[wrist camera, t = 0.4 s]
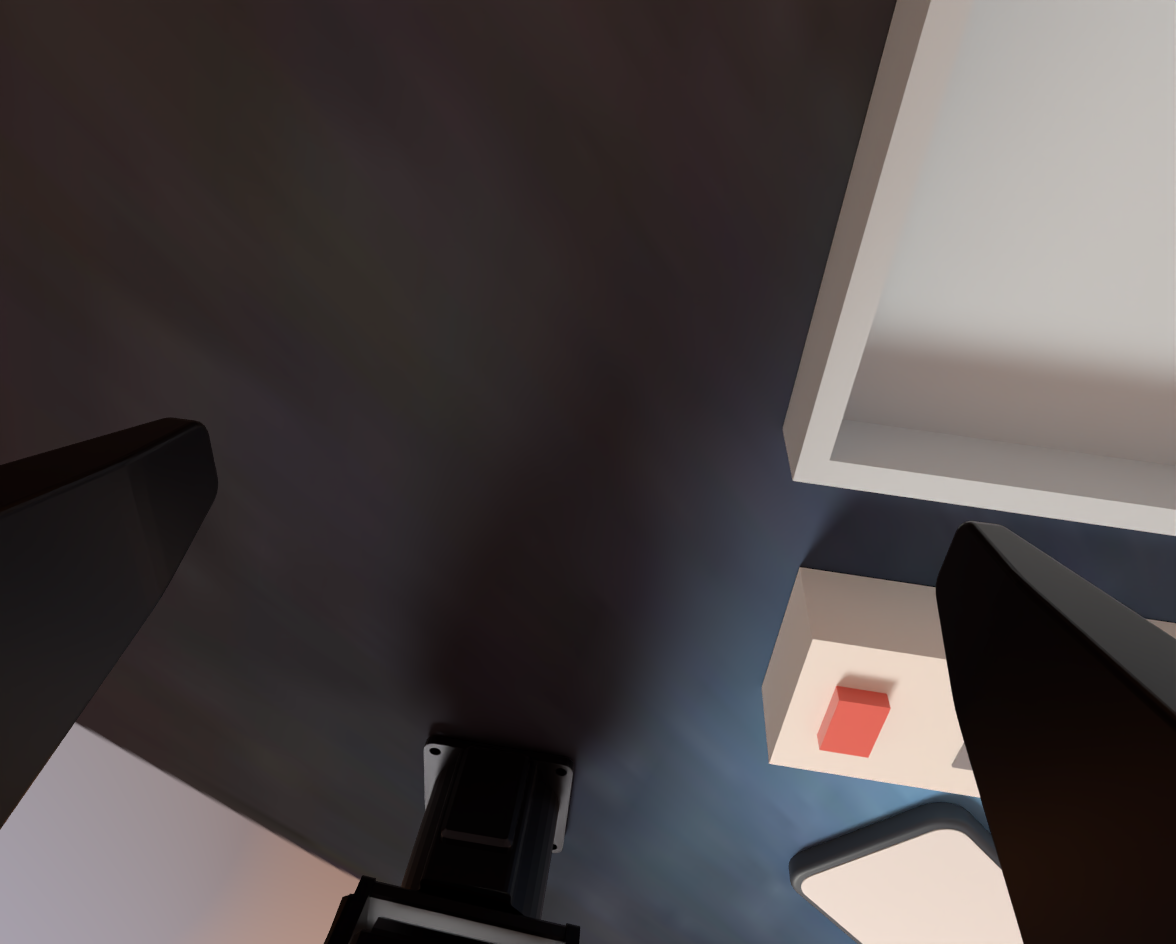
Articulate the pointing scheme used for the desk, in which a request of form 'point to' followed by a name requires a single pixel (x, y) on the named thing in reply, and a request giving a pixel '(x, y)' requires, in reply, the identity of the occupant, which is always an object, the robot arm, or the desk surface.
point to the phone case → (911, 881)
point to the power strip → (866, 685)
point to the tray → (1005, 269)
